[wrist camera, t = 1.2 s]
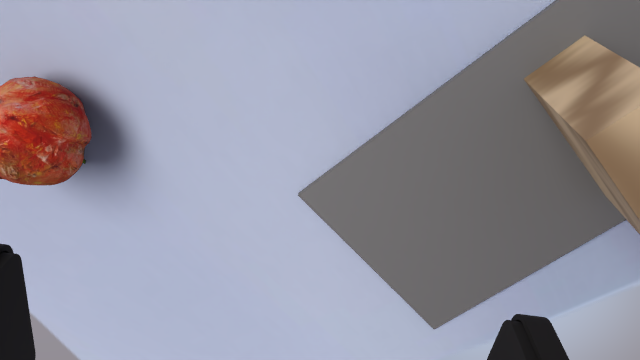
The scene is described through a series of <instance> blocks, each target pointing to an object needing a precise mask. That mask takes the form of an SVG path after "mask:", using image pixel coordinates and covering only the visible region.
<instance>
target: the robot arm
mask: <svg viewBox="0 0 640 360" xmlns="http://www.w3.org/2000/svg"><path fill="white" fill-rule="evenodd" d="M0 360H35V348H34V340H33V334H32V327H31V320H30V314H29V307H28V300H27V294H26V287H25V281H24V274H23V267H22V261H21V257H20V256H19V255H18V254H14V253H13V250H12V248H11V247H10V246H9V245H6V244H0ZM487 360H569V358H568V356H567V355H566V352H565V350H564V348H563V346H562V344H561V342H560V340H559V338H558V336H557V334H556V332H555V330H554V328H553V326H552V324H551V322H550V321H549V320H548V319H547V318H545V317H537V316H530V315H523V314H516V315H515V316H513V318H512V320H506V321H504V323H503V324H502V327H501V329H500V331H499V333H498V336H497V338H496V340H495V342H494V345H493V347H492V349H491V351H490V354H489V356H488V359H487Z"/></svg>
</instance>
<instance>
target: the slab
mask: <svg viewBox="0 0 640 360" xmlns="http://www.w3.org/2000/svg"><path fill="white" fill-rule="evenodd" d="M524 80H525V82H526V83H527V85H528V86H529V87H530V89H531V90H532V92H533V93H534V95H535V96H536V97H537V99H538V100H539V102H540V103H541V105H542V106H543V107H544V109H545V110H546V112H547V113H548V115H549V116H550V117H551V119H552V120H553V122H554V123H555V124H556V126H557V127H558V129H559V130H560V132H561V133H562V134H563V136H564V137H565V139H566V140H567V142H568V143H569V144H570V146H571V147H572V149H573V150H574V152H575V153H576V154H577V156H578V157H579V159H580V160H581V162H582V163H583V164H584V166H585V167H586V169H587V170H588V172H589V173H590V174H591V176H592V177H593V179H594V180H595V182H596V183H597V184H598V186H599V187H600V189H601V190H602V192H603V193H604V194H605V196H606V197H607V198H608V199H609V200H610V201H611V203H612V204H613V205H614V206H615V207H616V208H617V209H618V210H619V212H620V213H621V214H622V215H623V216H624V217H625V218H626V219H627V221H628V222H629V223H630V224H631V225H632V226H633V227H634V228H635V230H636V231H637V232H638V233H639V234H640V67H638V66H636V65H635V64H633V63H631V62H629V61H628V60H626V59H624V58H623V57H621V56H619V55H617V54H616V53H614V52H612V51H611V50H609V49H607V48H606V47H604V46H602V45H600V44H599V43H597V42H595V41H594V40H592V39H590V38H589V37H587V36H583V37H582V38H580V39H579V40H578V41H576V42H575V43H573V44H572V45H571V46H569V47H568V48H566V49H565V50H563V51H562V52H561V53H559V54H558V55H556V56H555V57H554V58H552V59H551V60H549V61H548V62H547V63H545V64H544V65H542V66H541V67H540V68H538V69H537V70H535V71H534V72H533V73H531V74H530V75H528V76H527V77H525V78H524Z"/></svg>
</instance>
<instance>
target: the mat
mask: <svg viewBox="0 0 640 360" xmlns="http://www.w3.org/2000/svg"><path fill="white" fill-rule="evenodd" d="M583 36H587V37H589V38H590V39H592V40H594V41H595V42H597V43H599V44H600V45H602V46H604V47H606V48H607V49H609V50H611V51H612V52H614V53H616V54H617V55H619V56H621V57H623V58H624V59H626V60H628V61H629V62H631V63H633V64H635V65H636V66H638V67H640V0H556V1H554V2H553V3H552V4H550V5H549V6H548V7H546V8H545V9H544V10H542V11H541V12H540V13H538V14H537V15H536V16H534V17H533V18H532V19H530V20H529V21H528V22H526V23H525V24H524V25H522V26H521V27H520V28H518V29H517V30H516V31H514V32H513V33H512V34H510V35H509V36H508V37H506V38H505V39H504V40H502V41H501V42H500V43H498V44H497V45H496V46H494V47H493V48H492V49H490V50H489V51H488V52H486V53H485V54H484V55H482V56H481V57H480V58H478V59H477V60H476V61H474V62H473V63H472V64H470V65H469V66H468V67H466V68H465V69H464V70H462V71H461V72H460V73H458V74H457V75H456V76H454V77H453V78H452V79H450V80H449V81H448V82H446V83H445V84H444V85H442V86H441V87H440V88H438V89H437V90H436V91H434V92H433V93H432V94H430V95H429V96H428V97H426V98H425V99H424V100H422V101H421V102H420V103H418V104H417V105H415V106H414V107H413V108H411V109H410V110H409V111H407V112H406V113H405V114H403V115H402V116H401V117H399V118H398V119H397V120H395V121H394V122H393V123H391V124H390V125H389V126H387V127H386V128H385V129H383V130H382V131H381V132H379V133H378V134H377V135H375V136H374V137H373V138H371V139H370V140H369V141H367V142H366V143H365V144H363V145H362V146H361V147H359V148H358V149H357V150H355V151H354V152H353V153H351V154H350V155H349V156H347V157H346V158H345V159H343V160H342V161H341V162H339V163H338V164H337V165H335V166H334V167H333V168H331V169H330V170H329V171H327V172H326V173H325V174H323V175H322V176H321V177H319V178H318V179H317V180H315V181H314V182H313V183H311V184H310V185H309V186H307V187H306V188H305V189H303V190H302V191H301V192H299V194H298V196H299V197H300V198H301V199H302V200H303V201H304V202H305V203H306V204H307V205H308V206H309V207H310V208H311V209H312V210H313V211H314V212H315V213H316V214H317V215H318V216H319V217H321V218H322V219H323V220H324V221H325V222H326V223H327V224H328V225H329V226H330V227H331V228H332V229H333V230H334V231H335V232H336V233H337V234H338V235H339V236H340V237H341V238H342V239H343V240H344V241H345V242H346V243H347V244H348V245H349V246H350V247H351V248H352V249H353V250H354V251H355V252H356V253H357V254H358V255H359V256H360V257H361V258H362V259H363V260H364V261H365V262H366V263H367V264H368V265H369V266H370V267H371V268H372V269H373V270H374V271H375V272H376V273H377V274H378V275H379V276H380V277H381V278H382V279H383V280H384V281H385V282H386V283H387V284H388V285H389V286H390V287H391V288H392V289H393V290H394V291H396V292H397V293H398V294H399V295H400V296H401V297H402V298H403V299H404V300H405V301H406V302H407V303H408V304H409V305H410V306H411V307H412V308H413V309H414V310H415V311H416V312H417V313H418V314H419V315H420V316H421V317H422V318H423V319H424V320H425V321H426V322H427V323H428V324H429V325H430V326H431V327H432V328H433V329H436V328H437V327H439V326H441V325H443V324H444V323H446V322H448V321H450V320H451V319H453V318H455V317H457V316H458V315H460V314H462V313H464V312H465V311H467V310H469V309H471V308H472V307H474V306H476V305H478V304H479V303H481V302H483V301H485V300H486V299H488V298H490V297H492V296H493V295H495V294H497V293H499V292H500V291H502V290H504V289H506V288H507V287H509V286H511V285H513V284H514V283H516V282H518V281H520V280H521V279H523V278H525V277H527V276H528V275H530V274H532V273H534V272H535V271H537V270H539V269H541V268H542V267H544V266H546V265H548V264H549V263H551V262H553V261H555V260H556V259H558V258H560V257H562V256H563V255H565V254H567V253H569V252H570V251H572V250H574V249H576V248H577V247H579V246H581V245H583V244H584V243H586V242H588V241H590V240H591V239H593V238H595V237H597V236H598V235H600V234H602V233H604V232H605V231H607V230H609V229H611V228H612V227H614V226H616V225H618V224H619V223H621V222H623V221H625V220H626V218H625V217H624V216H623V215H622V214H621V213H620V212H619V210H618V209H617V208H616V207H615V206H614V205H613V204H612V203H611V201H610V200H609V199H608V198H607V197H606V196H605V194H604V193H603V192H602V190H601V189H600V187H599V186H598V184H597V183H596V182H595V180H594V179H593V177H592V176H591V174H590V173H589V172H588V170H587V169H586V167H585V166H584V164H583V163H582V162H581V160H580V159H579V157H578V156H577V154H576V153H575V152H574V150H573V149H572V147H571V146H570V144H569V143H568V142H567V140H566V139H565V137H564V136H563V134H562V133H561V132H560V130H559V129H558V127H557V126H556V124H555V123H554V122H553V120H552V119H551V117H550V116H549V115H548V113H547V112H546V110H545V109H544V107H543V106H542V105H541V103H540V102H539V100H538V99H537V97H536V96H535V95H534V93H533V92H532V90H531V89H530V87H529V86H528V85H527V83H526V82H525V80H524V78H525V77H527V76H528V75H530V74H531V73H533V72H534V71H535V70H537V69H538V68H540V67H541V66H542V65H544V64H545V63H547V62H548V61H549V60H551V59H552V58H554V57H555V56H556V55H558V54H559V53H561V52H562V51H563V50H565V49H566V48H568V47H569V46H571V45H572V44H573V43H575V42H576V41H578V40H579V39H580V38H582V37H583Z"/></svg>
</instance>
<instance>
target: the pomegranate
mask: <svg viewBox="0 0 640 360" xmlns="http://www.w3.org/2000/svg"><path fill="white" fill-rule="evenodd" d="M90 140H91V128H90V125H89V121H88V119H87V116H86V115H85V110H84V107H83V104H82V102H81V101H80V99H79V98H77V97H76V96H75V95H74V94H73V93H72V92H71V91H69V90H68V89H67V88H65V87H63V86H62V85H60V84H57V83H55V82H52V81H49V80H46V79H42V78H38V77H24V78H14V79H10V80H9V81H7V82H6V83H5V84H3V85H2V86H0V179H6V180H8V181H11V182H14V183H20V184H25V185H54V184H58V183H61V182H64V181H66V180H68V179H69V178H70V177H71V176H72V175H74V174H75V173H76V172H77V171H78V169H79V168H80V167H81V165H82V163H84V164H85V162H86V160H85V159H84V150H85V146H86V145H87V144H88V143H89V142H90Z"/></svg>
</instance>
